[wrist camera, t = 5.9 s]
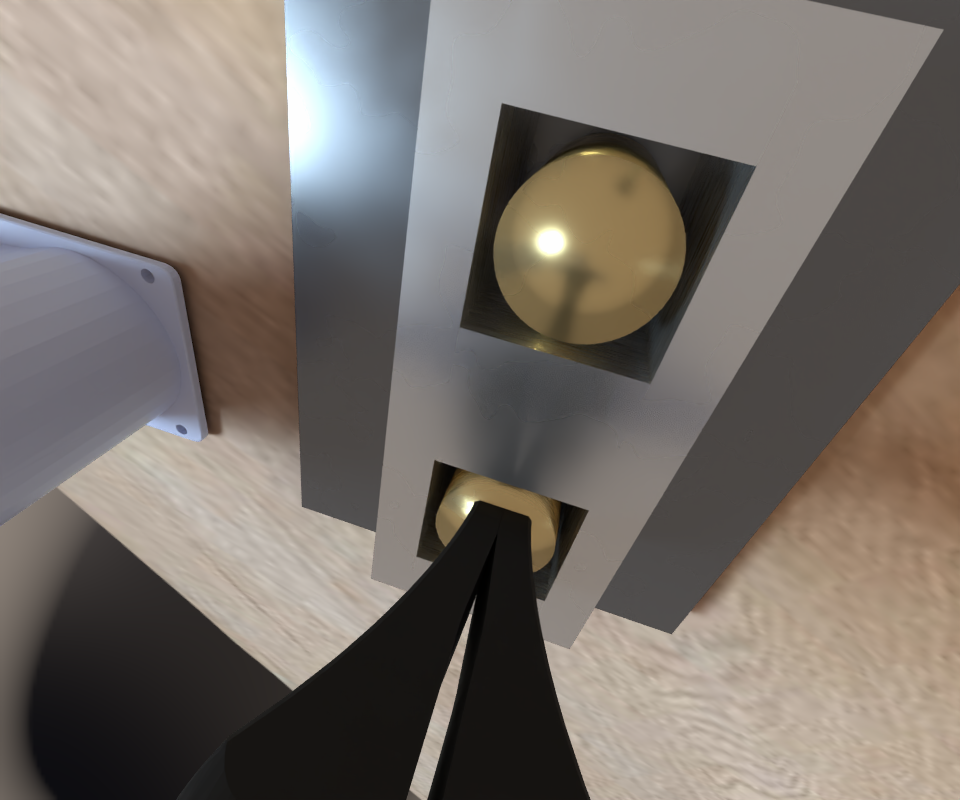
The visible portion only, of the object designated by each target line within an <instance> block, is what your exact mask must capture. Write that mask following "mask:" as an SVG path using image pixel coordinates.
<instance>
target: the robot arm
mask: <svg viewBox="0 0 960 800" xmlns="http://www.w3.org/2000/svg"><path fill="white" fill-rule="evenodd" d="M151 273H152V274H153V275H152V274H151ZM153 276H154V277H153ZM145 425H148V426H151V427H154V428H157V429H160V430H163V431H166V432H169V433H172V434H175V435H178V436H181V437H184V438H187V439H189V440H192V441H197V442H199V441H202V440H203V439H204V438H206V437H207V435H208V429H207V423H206V417H205V412H204V406H203V401H202V395H201V390H200V384H199V379H198V373H197V368H196V362H195V356H194V351H193V345H192V340H191V334H190V329H189V323H188V318H187V312H186V307H185V301H184V295H183V290H182V284H181V279H180V277H179V274H178V273H177V271H176V270H175V269H174V268H173V267H171V266H170V265H168V264H166V263H163V262H160V261H156V260H153V259H150V258H146V257H143V256H140V255H136V254H133V253H130V252H127V251H123V250H120V249H117V248H113V247H110V246H107V245H103V244H100V243H97V242H93V241H90V240H87V239H84V238H80V237H77V236H74V235H70V234H67V233H64V232H60V231H57V230H54V229H50V228H47V227H44V226H41V225H37V224H34V223H31V222H27V221H24V220H21V219H17V218H14V217H11V216H7V215H4V214H1V213H0V526H1V525H3V524H4V523H6V522H7V521H9V520H10V519H11V518H13V517H14V516H16V515H17V514H19V513H20V512H21V511H23V510H24V509H26V508H27V507H29V506H30V505H31V504H33V503H34V502H36V501H37V500H38V499H40V498H41V497H43V496H44V495H46V494H47V493H48V492H50V491H51V490H53V489H54V488H56V487H57V486H59V485H60V484H62V483H63V482H64V481H66V480H67V479H69V478H70V477H72V476H73V475H74V474H76V473H77V472H79V471H80V470H82V469H83V468H84V467H86V466H87V465H89V464H90V463H92V462H93V461H94V460H96V459H97V458H99V457H100V456H102V455H103V454H104V453H106V452H107V451H109V450H110V449H112V448H113V447H115V446H116V445H117V444H119V443H120V442H122V441H123V440H125V439H126V438H127V437H129V436H130V435H132V434H133V433H135V432H136V431H137V430H139V429H140V428H142V427H143V426H145ZM531 525H532V521H531V519H530V517H529V516H526V515H523V514H520V513H517V512H514V511H511V510H508V509H505V508H502V507H499V506H496V505H493V504H490V503H487V502H484V501H481V500H479V501H476V502H474V504H473V506H472V508H471V510H470V512H469V514H468V515H467V517H466V519H465V520H464V522H463V523H462V525H461V526H460V528H459V529H458V531H457V532H456V533H455V535H454V536H453V538H452V539H451V540H450V542H449V543H448V544H447V546H446V547H445V548H444V549H443V551H442V552H441V553H440V554H439V556H438V557H437V558H436V559H435V561H434V562H433V563H432V564H431V565H430V567H429V568H428V569H427V570H426V571H425V572H424V573H423V574H422V576H421V577H420V578H419V579H418V580H417V581H416V582H415V583H414V584H413V585H412V587H411V588H410V589H409V590H408V591H407V592H406V593H405V594H404V595H403V596H402V597H401V598H400V599H399V600H398V601H397V602H396V603H395V604H394V605H393V606H392V607H391V608H390V609H389V610H388V611H387V612H386V613H385V614H384V615H383V616H382V617H381V618H380V619H379V620H378V621H377V622H376V623H375V624H374V625H372V626H371V627H370V628H369V629H368V630H367V631H366V632H365V633H363V634H362V635H361V636H360V637H359V638H358V639H357V640H356V641H354V642H353V643H352V644H351V645H350V646H349V647H348V648H346V649H345V650H344V651H343V652H342V653H341V654H339V655H338V656H337V657H336V658H335V659H333V660H332V661H331V662H330V663H328V664H327V665H326V666H324V667H323V668H322V669H321V670H319V671H318V672H317V673H315V674H314V675H313V676H312V677H310V678H309V679H308V680H306V681H305V682H304V683H303V684H301V685H300V686H299V687H297V688H296V689H295V690H294V691H292V692H291V693H290V694H288V695H287V696H286V697H284V698H283V699H282V700H280V701H279V702H277V703H276V704H275V705H273V706H271V707H270V708H269V709H267V710H266V711H264V712H263V713H261V714H260V715H259V716H257V717H256V718H255V719H253V720H251V721H250V722H248V723H247V724H246V725H244V726H243V727H241V728H240V729H239V730H237V731H236V732H234V733H233V734H232V735H230V736H229V737H228V738H227V739H226V740H225V741H224V742H223V743H222V744H221V745H220V746H219V747H218V749H217V750H216V751H215V752H214V753H213V754H212V755H211V756H210V757H209V758H208V759H207V761H206V762H205V763H204V764H203V765H202V767H201V768H200V769H199V770H198V771H197V772H196V774H195V775H194V776H193V778H192V779H191V780H190V782H189V783H188V784H187V785H186V787H185V788H184V790H183V791H182V792H181V794H180V795H179V797H178V798H177V800H406V798H407V795H408V792H409V789H410V785H411V782H412V779H413V775H414V772H415V769H416V766H417V762H418V759H419V756H420V752H421V749H422V746H423V742H424V739H425V736H426V733H427V729H428V726H429V723H430V719H431V716H432V713H433V710H434V706H435V703H436V700H437V696H438V693H439V690H440V687H441V684H442V682H443V679H444V677H445V674H446V671H447V669H448V666H449V664H450V661H451V659H452V656H453V654H454V651H455V649H456V646H457V644H458V641H459V639H460V636H461V634H462V631H463V629H464V626H465V623H466V621H467V618H468V616H469V613H470V611H471V608H472V606H473V603H474V601H475V604H474V609H473V614H472V619H471V624H470V629H469V634H468V639H467V644H466V649H465V654H464V659H463V664H462V669H461V674H460V679H459V684H458V689H457V694H456V698H455V702H454V706H453V711H452V715H451V718H450V722H449V725H448V729H447V732H446V736H445V739H444V743H443V747H442V750H441V754H440V757H439V761H438V764H437V768H436V771H435V775H434V778H433V782H432V785H431V789H430V792H429V796H428V799H427V800H590V797H589V794H588V792H587V789H586V786H585V784H584V781H583V778H582V775H581V772H580V769H579V766H578V763H577V760H576V757H575V754H574V750H573V747H572V744H571V741H570V738H569V735H568V732H567V729H566V726H565V723H564V719H563V716H562V712H561V709H560V705H559V702H558V698H557V695H556V691H555V687H554V683H553V679H552V676H551V672H550V667H549V663H548V659H547V654H546V650H545V645H544V640H543V635H542V630H541V624H540V619H539V613H538V607H537V599H536V592H535V585H534V576H533V566H532V551H531ZM475 598H476V599H475Z"/></svg>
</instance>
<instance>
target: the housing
mask: <svg viewBox="0 0 960 800" xmlns="http://www.w3.org/2000/svg"><path fill="white" fill-rule="evenodd" d="M942 32H943V29H939V28H934V27H929V26H925V25H920V24H915V23H911V22H906V21H901V20H897V19H892V18H887V17H883V16H878V15H873V14H869V13H864V12H859V11H855V10H850V9H845V8H841V7H836V6H831V5H827V4H822V3H817V2H813V1H808V0H431V4H430V14H429V24H428V33H427V43H426V53H425V62H424V72H423V82H422V91H421V101H420V111H419V120H418V130H417V140H416V149H415V159H414V169H413V178H412V188H411V198H410V207H409V217H408V227H407V236H406V246H405V256H404V265H403V275H402V285H401V294H400V304H399V314H398V323H397V333H396V343H395V352H394V362H393V372H392V381H391V391H390V401H389V410H388V420H387V430H386V439H385V449H384V459H383V468H382V478H381V488H380V497H379V507H378V517H377V526H376V536H375V546H374V555H373V565H372V575H371V579H374V580H377V581H379V582H382V583H385V584H388V585H391V586H394V587H396V588H399V589H402V590H405V591H408V590H409V589H410V588H411V587H412V585H413V584H414V583H415V582H416V581H417V580H418V579H419V578H420V577H421V576H422V574H423V573H424V572H425V571H426V570H427V569H428V568H429V567H430V565H431V564H432V563H433V562H434V561H435V559H436V558H437V557H438V556H439V554H440V553H441V552H442V551H443V549H444V548H445V546H444V545H443V543H442V541H441V540H440V538H439V536H438V533H437V530H436V522H435V521H436V515H437V511H438V509H439V507H440V505H441V502H442V500H443V498H444V495H445V493H446V491H447V489H448V486H449V484H450V482H451V480H452V477H453V475H454V473H455V470H456V468H460V469H463V470H466V471H470V472H473V473H476V474H479V475H482V476H485V477H488V478H491V479H494V480H497V481H500V482H503V483H506V484H509V485H512V486H516V487H519V488H522V489H525V490H528V491H531V492H534V493H537V494H540V495H543V496H546V497H549V498H552V499H555V500H558V501H561V502H562V504H561V511H560V518H559V524H558V531H557V538H556V545H555V551H554V554H553V556H552V558H551V560H550V561H549V562H548V563H547V564H546V565H545V566H544V567H543V568H541V569H540V570H538V571H536V572H533V576H534V585H535V592H536V599H537V607H538V613H539V619H540V624H541V630H542V635H543V640H545V641H548V642H551V643H554V644H557V645H560V646H562V647H565V648H568V649H570V647H571V646H572V644H573V643H574V641H575V639H576V638H577V636H578V634H579V633H580V631H581V629H582V628H583V626H584V624H585V623H586V621H587V619H588V618H589V616H590V614H591V613H592V611H593V609H594V608H595V606H596V604H597V603H598V601H599V600H600V598H601V596H602V595H603V593H604V591H605V590H606V588H607V586H608V585H609V583H610V581H611V580H612V578H613V576H614V575H615V573H616V571H617V570H618V568H619V566H620V565H621V563H622V561H623V560H624V558H625V556H626V555H627V553H628V552H629V550H630V548H631V547H632V545H633V543H634V542H635V540H636V538H637V537H638V535H639V533H640V532H641V530H642V528H643V527H644V525H645V523H646V522H647V520H648V518H649V517H650V515H651V513H652V512H653V510H654V508H655V507H656V505H657V504H658V502H659V500H660V499H661V497H662V495H663V494H664V492H665V490H666V489H667V487H668V485H669V484H670V482H671V480H672V479H673V477H674V475H675V474H676V472H677V470H678V469H679V467H680V465H681V464H682V462H683V460H684V459H685V457H686V456H687V454H688V452H689V451H690V449H691V447H692V446H693V444H694V442H695V441H696V439H697V437H698V436H699V434H700V432H701V431H702V429H703V427H704V426H705V424H706V422H707V421H708V419H709V417H710V416H711V414H712V412H713V411H714V409H715V408H716V406H717V404H718V403H719V401H720V399H721V398H722V396H723V394H724V393H725V391H726V389H727V388H728V386H729V384H730V383H731V381H732V379H733V378H734V376H735V374H736V373H737V371H738V369H739V368H740V366H741V364H742V363H743V361H744V360H745V358H746V356H747V355H748V353H749V351H750V350H751V348H752V346H753V345H754V343H755V341H756V340H757V338H758V336H759V335H760V333H761V331H762V330H763V328H764V326H765V325H766V323H767V321H768V320H769V318H770V316H771V315H772V313H773V312H774V310H775V308H776V307H777V305H778V303H779V302H780V300H781V298H782V297H783V295H784V293H785V292H786V290H787V288H788V287H789V285H790V283H791V282H792V280H793V278H794V277H795V275H796V273H797V272H798V270H799V269H800V267H801V265H802V264H803V262H804V260H805V259H806V257H807V255H808V254H809V252H810V250H811V249H812V247H813V245H814V244H815V242H816V240H817V239H818V237H819V235H820V234H821V232H822V230H823V229H824V227H825V225H826V224H827V222H828V221H829V219H830V217H831V216H832V214H833V212H834V211H835V209H836V207H837V206H838V204H839V202H840V201H841V199H842V197H843V196H844V194H845V192H846V191H847V189H848V187H849V186H850V184H851V182H852V181H853V179H854V177H855V176H856V174H857V173H858V171H859V169H860V168H861V166H862V164H863V163H864V161H865V159H866V158H867V156H868V154H869V153H870V151H871V149H872V148H873V146H874V144H875V143H876V141H877V139H878V138H879V136H880V134H881V133H882V131H883V129H884V128H885V126H886V125H887V123H888V121H889V120H890V118H891V116H892V115H893V113H894V111H895V110H896V108H897V106H898V105H899V103H900V101H901V100H902V98H903V96H904V95H905V93H906V91H907V90H908V88H909V86H910V85H911V83H912V81H913V80H914V78H915V77H916V75H917V73H918V72H919V70H920V68H921V67H922V65H923V63H924V62H925V60H926V58H927V57H928V55H929V53H930V52H931V50H932V48H933V47H934V45H935V43H936V42H937V40H938V38H939V37H940V35H941V33H942ZM541 113H544V114H548V115H552V116H556V117H560V118H564V119H568V120H572V121H576V122H580V123H584V124H588V125H592V126H596V127H600V128H604V129H608V130H612V131H616V132H620V133H624V134H628V135H632V136H636V137H640V138H644V139H648V140H652V141H656V142H660V143H664V144H668V145H672V146H676V147H680V148H684V149H689V150H693V151H697V152H701V153H702V154H701V156H700V159H699V161H698V164H697V166H696V168H695V171H694V173H693V176H692V178H691V180H690V183H689V185H688V187H687V190H686V192H685V195H684V197H683V199H682V202H681V204H680V207H679V211H680V214H681V217H682V220H683V224H684V229H685V234H686V253H685V261H684V266H683V270H682V274H681V276H680V279H679V281H678V284H677V286H676V288H675V290H674V292H673V294H672V295H671V297H670V298H669V300H668V301H667V303H666V304H665V305H664V307H663V308H662V309H661V310H660V311H659V312H658V313H657V314H656V315H655V316H654V317H653V318H652V319H651V320H650V321H648V322H647V323H646V324H645V325H643V326H642V327H640V328H639V329H637V330H636V331H634V332H632V333H630V334H628V335H626V336H623V337H621V338H618V339H615V340H612V341H608V342H604V343H597V344H573V343H566V342H562V341H558V340H555V339H552V338H549V337H547V336H545V335H543V334H541V333H539V332H537V331H536V330H534V329H533V328H531V327H530V326H528V325H527V324H526V323H525V322H524V321H522V320H521V319H520V318H519V317H518V316H517V315H516V313H515V312H514V311H513V310H512V309H511V307H510V306H509V304H508V303H507V301H506V300H505V298H504V296H503V294H502V292H501V289H500V287H499V284H498V281H497V277H496V273H495V268H494V259H493V256H494V241H495V234H496V231H497V227H498V224H499V221H500V219H501V216H502V214H503V212H504V210H505V208H506V206H507V205H508V203H509V201H510V200H511V198H512V197H513V196H514V194H515V193H516V192H517V190H518V189H519V188H520V187H521V186H522V185H523V184H524V183H525V179H526V175H527V171H528V166H529V162H530V158H531V153H532V149H533V145H534V141H535V136H536V132H537V128H538V123H539V119H540V115H541ZM475 599H476V598H475ZM474 604H475V601H474V603H473V606H472V608H471V611H470V613H469V614H473V609H474Z"/></svg>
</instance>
